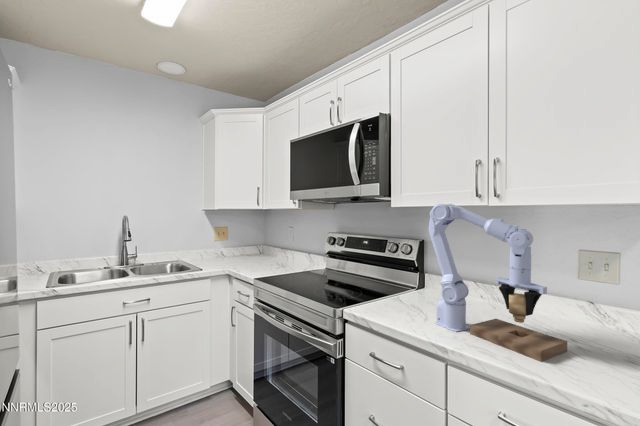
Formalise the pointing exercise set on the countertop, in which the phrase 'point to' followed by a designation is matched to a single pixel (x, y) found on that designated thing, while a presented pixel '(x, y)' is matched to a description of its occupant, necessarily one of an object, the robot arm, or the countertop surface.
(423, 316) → the countertop surface
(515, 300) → the oak peg
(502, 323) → the walnut board
